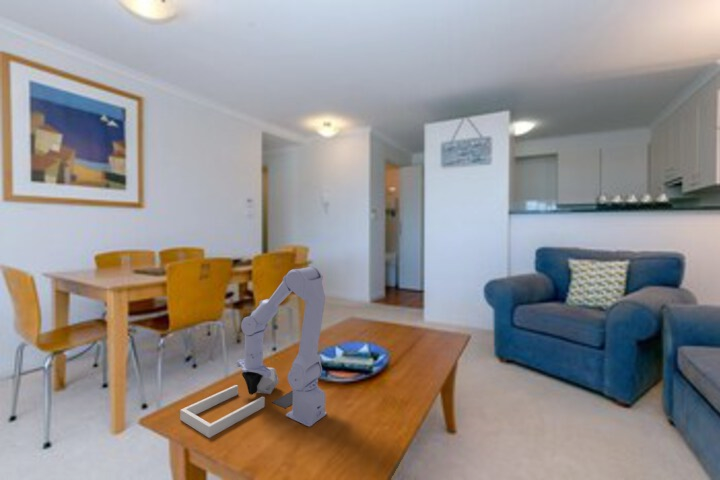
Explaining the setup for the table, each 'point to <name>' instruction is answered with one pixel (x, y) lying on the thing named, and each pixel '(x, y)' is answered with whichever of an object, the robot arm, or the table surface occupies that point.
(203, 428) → the grey u-shaped frame
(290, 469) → the table surface
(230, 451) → the table surface
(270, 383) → the die
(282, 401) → the hole mat
